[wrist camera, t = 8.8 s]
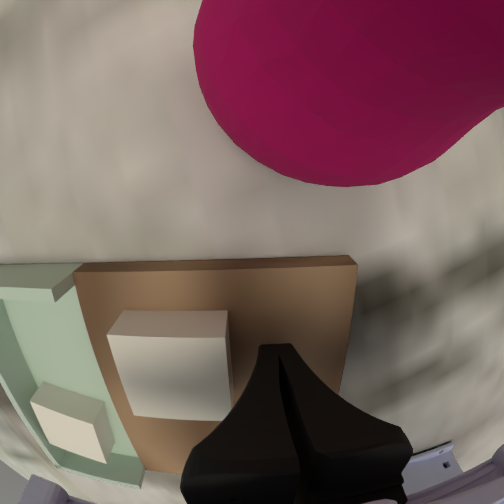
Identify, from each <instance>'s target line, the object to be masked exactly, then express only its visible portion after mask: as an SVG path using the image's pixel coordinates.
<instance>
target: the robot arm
mask: <svg viewBox="0 0 504 504" xmlns="http://www.w3.org/2000/svg"><path fill="white" fill-rule="evenodd" d="M453 446H454V445H453V443H448V444H446V445H443V446H441V447H438V448H435V449H432V450H430V451H427V452H424V453H421V454H418V455H415V456H412V454H413V448H412V446H411V444H410V442H409V440H408V438H407V436H406V435H405V433H404V432H403V431H402V429H401V427H399V426H396V425H393V424H390V423H388V422H385V421H382V420H380V419H377V418H375V417H373V416H371V415H369V414H367V413H365V412H363V411H361V410H360V409H358V408H356V407H355V406H353V405H352V404H350V403H348V402H347V401H345V400H344V399H343V398H341V397H340V396H339V395H337V394H336V393H335V392H334V391H332V390H331V389H330V388H329V387H328V386H327V385H326V384H325V383H324V382H323V381H322V380H321V379H320V378H319V377H318V376H317V375H316V374H315V373H314V372H313V371H312V370H311V368H310V367H309V366H308V365H307V364H306V363H305V361H304V360H303V359H302V357H301V356H300V355H299V353H298V352H297V351H296V349H295V348H294V346H293V345H292V344H291V343H283V344H261V345H260V346H259V347H258V356H257V360H256V364H255V366H254V369H253V372H252V374H251V377H250V379H249V381H248V383H247V385H246V387H245V389H244V391H243V393H242V394H241V396H240V398H239V399H238V401H237V402H236V404H235V405H234V407H233V408H232V409H231V411H230V412H229V413H228V415H227V416H226V417H225V418H224V419H223V421H222V422H221V423H220V424H219V425H218V426H217V427H216V428H215V429H214V430H213V431H212V432H211V433H210V434H209V435H208V436H207V437H205V438H204V439H203V440H202V441H201V442H199V443H198V444H197V445H196V446H194V447H193V448H192V450H191V452H190V454H189V456H188V458H187V461H186V463H185V466H184V469H183V472H182V477H181V484H180V489H181V493H182V495H183V497H184V499H185V501H186V503H187V504H504V444H503V445H502V446H501V447H500V448H499V449H498V450H497V451H496V452H495V453H494V455H493V456H492V458H491V459H489V460H487V461H485V462H484V463H482V464H480V465H478V466H476V467H474V468H472V469H470V470H468V471H466V472H464V473H463V471H462V470H461V468H460V466H459V464H458V462H457V461H456V459H455V457H454V455H453V454H452V452H451V450H452V448H453ZM411 456H412V457H411ZM18 504H95V503H92V502H88V501H85V500H82V499H79V498H76V497H73V496H70V495H68V493H67V492H66V491H65V490H64V489H63V488H62V487H61V486H59V485H58V484H56V483H54V482H51V481H49V480H46V479H44V478H41V477H39V476H36V475H34V474H33V475H31V477H30V479H29V481H28V483H27V485H26V488H25V490H24V492H23V494H22V496H21V498H20V501H19V503H18Z"/></svg>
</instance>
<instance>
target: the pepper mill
mask: <svg viewBox="0 0 504 504" xmlns="http://www.w3.org/2000/svg"><path fill="white" fill-rule="evenodd" d="M193 49H194V57H195V65H196V72H197V76H198V81H199V85H200V88H201V91H202V93H203V96H204V98H205V101H206V103H207V106H208V108H209V109H210V111H211V113H212V114H213V116H214V118H215V119H216V121H217V123H218V124H219V125H220V127H221V128H222V129H223V130H224V131H225V132H226V133H227V135H228V136H229V137H230V138H231V139H232V140H233V142H234V143H235V144H236V145H237V146H239V147H240V148H241V149H242V150H244V151H245V152H246V153H248V154H249V155H250V156H251V157H253V158H254V159H255V160H257V161H258V162H260V163H262V164H263V165H265V166H267V167H269V168H271V169H273V170H274V171H276V172H278V173H280V174H282V175H285V176H288V177H291V178H294V179H297V180H300V181H303V182H306V183H313V184H319V185H325V186H339V187H351V186H364V185H377V184H381V183H384V182H387V181H390V180H394V179H397V178H400V177H402V176H404V175H406V174H408V173H410V172H412V171H414V170H416V169H418V168H421V167H423V166H425V165H427V164H429V163H431V162H433V161H434V160H436V159H437V158H438V157H439V156H441V155H442V154H443V153H445V152H446V151H447V150H448V149H449V148H451V147H452V146H453V145H454V144H455V143H456V142H457V141H458V140H460V139H461V138H462V137H463V136H464V135H465V134H466V133H467V132H469V131H470V130H471V129H472V128H473V127H474V126H476V125H477V124H478V123H480V122H481V121H482V120H484V119H485V118H486V117H488V116H489V115H490V114H491V113H493V112H494V111H495V110H497V109H499V108H502V107H504V0H203V1H202V4H201V7H200V10H199V13H198V17H197V20H196V24H195V29H194V41H193Z"/></svg>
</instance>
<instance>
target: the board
mask: <svg viewBox="0 0 504 504" xmlns="http://www.w3.org/2000/svg"><path fill="white" fill-rule="evenodd" d="M357 270H358V264H357V263H356V262H355V261H354V260H353V259H352V258H351V257H350V256H349V255H347V256H319V257H288V258H257V259H223V260H187V261H149V262H107V263H83V264H82V265H81V266H80V267H78V268H77V269H76V270H74V271H73V272H72V274H73V279H74V283H75V287H76V292H77V296H78V300H79V304H80V307H81V311H82V315H83V318H84V322H85V325H86V329H87V332H88V335H89V339H90V342H91V345H92V348H93V351H94V354H95V357H96V360H97V363H98V366H99V368H100V371H101V374H102V377H103V379H104V382H105V384H106V387H107V390H108V392H109V395H110V397H111V399H112V402H113V404H114V407H115V409H116V411H117V414H118V416H119V418H120V420H121V422H122V425H123V427H124V429H125V431H126V433H127V435H128V437H129V439H130V441H131V443H132V445H133V447H134V449H135V451H136V453H137V455H138V457H139V459H140V461H141V463H142V465H143V466H144V468H145V470H150V471H158V472H166V473H176V474H182V472H183V469H184V466H185V463H186V461H187V458H188V456H189V454H190V452H191V450H192V448H193V447H194V446H196V445H197V444H198V443H199V442H201V441H202V440H203V439H204V438H205V437H207V436H208V435H209V434H210V433H211V432H212V431H213V430H214V429H215V428H216V427H217V426H218V425H219V424H220V423H221V422H222V421H200V420H179V419H165V418H153V417H144V416H135V415H134V414H133V412H132V409H131V407H130V404H129V401H128V399H127V396H126V393H125V391H124V388H123V385H122V382H121V379H120V376H119V373H118V370H117V367H116V364H115V361H114V358H113V355H112V352H111V348H110V345H109V342H108V338H107V333H108V332H109V330H110V329H111V327H112V326H113V324H114V323H115V322H116V320H117V319H118V317H119V316H120V314H121V313H122V312H123V310H145V311H217V310H228V324H229V338H230V352H231V365H232V377H233V389H234V395H233V407H234V405H235V404H236V402H237V401H238V399H239V398H240V396H241V394H242V393H243V391H244V389H245V387H246V385H247V383H248V381H249V379H250V377H251V374H252V372H253V369H254V366H255V364H256V360H257V356H258V347H259V346H260V345H261V344H283V343H291V344H292V345H293V346H294V348H295V349H296V351H297V352H298V353H299V355H300V356H301V357H302V359H303V360H304V361H305V363H306V364H307V365H308V366H309V367H310V368H311V370H312V371H313V372H314V373H315V374H316V375H317V376H318V377H319V378H320V379H321V380H322V381H323V382H324V383H325V384H326V385H327V386H328V387H329V388H330V389H331V390H332V391H334V392H335V393H336V394H337V395H338V394H339V389H340V384H341V379H342V374H343V369H344V363H345V358H346V352H347V346H348V340H349V333H350V327H351V320H352V312H353V305H354V297H355V289H356V280H357Z"/></svg>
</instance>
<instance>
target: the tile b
mask: <svg viewBox="0 0 504 504" xmlns="http://www.w3.org/2000/svg"><path fill="white" fill-rule="evenodd" d="M107 338H108V342H109V345H110V348H111V352H112V355H113V358H114V361H115V364H116V367H117V370H118V373H119V376H120V379H121V382H122V385H123V388H124V391H125V393H126V396H127V399H128V401H129V404H130V407H131V409H132V412H133V414H134V415H135V416H144V417H153V418H165V419H179V420H200V421H223V419H224V418H225V417H226V416H227V415H228V413H229V412H230V411H231V409H232V408H233V395H234V389H233V377H232V365H231V352H230V338H229V324H228V310H217V311H145V310H123V312H122V313H121V314H120V316H119V317H118V319H117V320H116V322H115V323H114V324H113V326H112V327H111V329H110V330H109V332H108V333H107Z"/></svg>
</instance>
